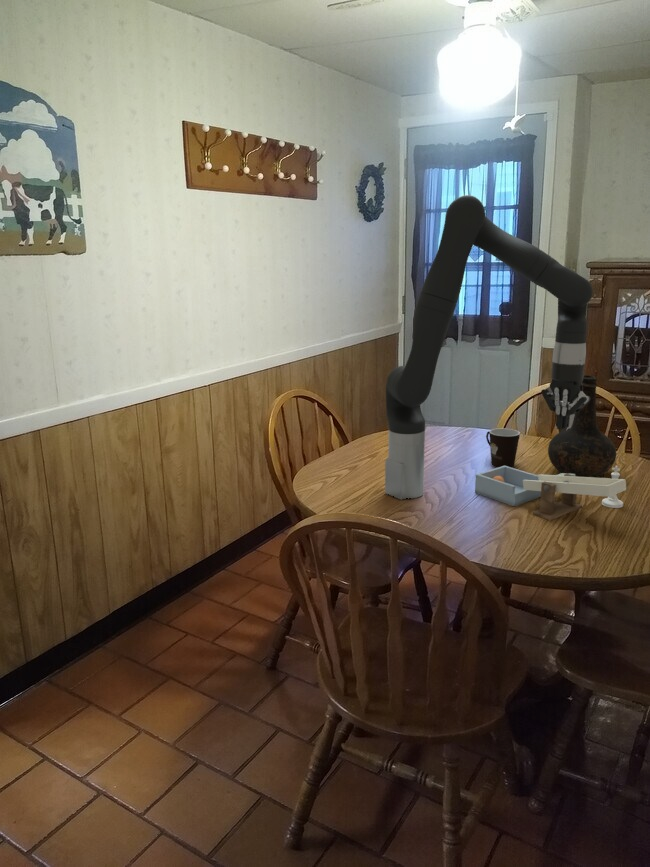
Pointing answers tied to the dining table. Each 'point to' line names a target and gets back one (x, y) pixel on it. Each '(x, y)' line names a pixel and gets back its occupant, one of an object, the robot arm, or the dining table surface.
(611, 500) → the chess piece
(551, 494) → the stand
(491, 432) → the coffee mug
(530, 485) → the lever
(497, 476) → the ball
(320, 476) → the dining table surface
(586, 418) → the glass bottle
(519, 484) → the bin
